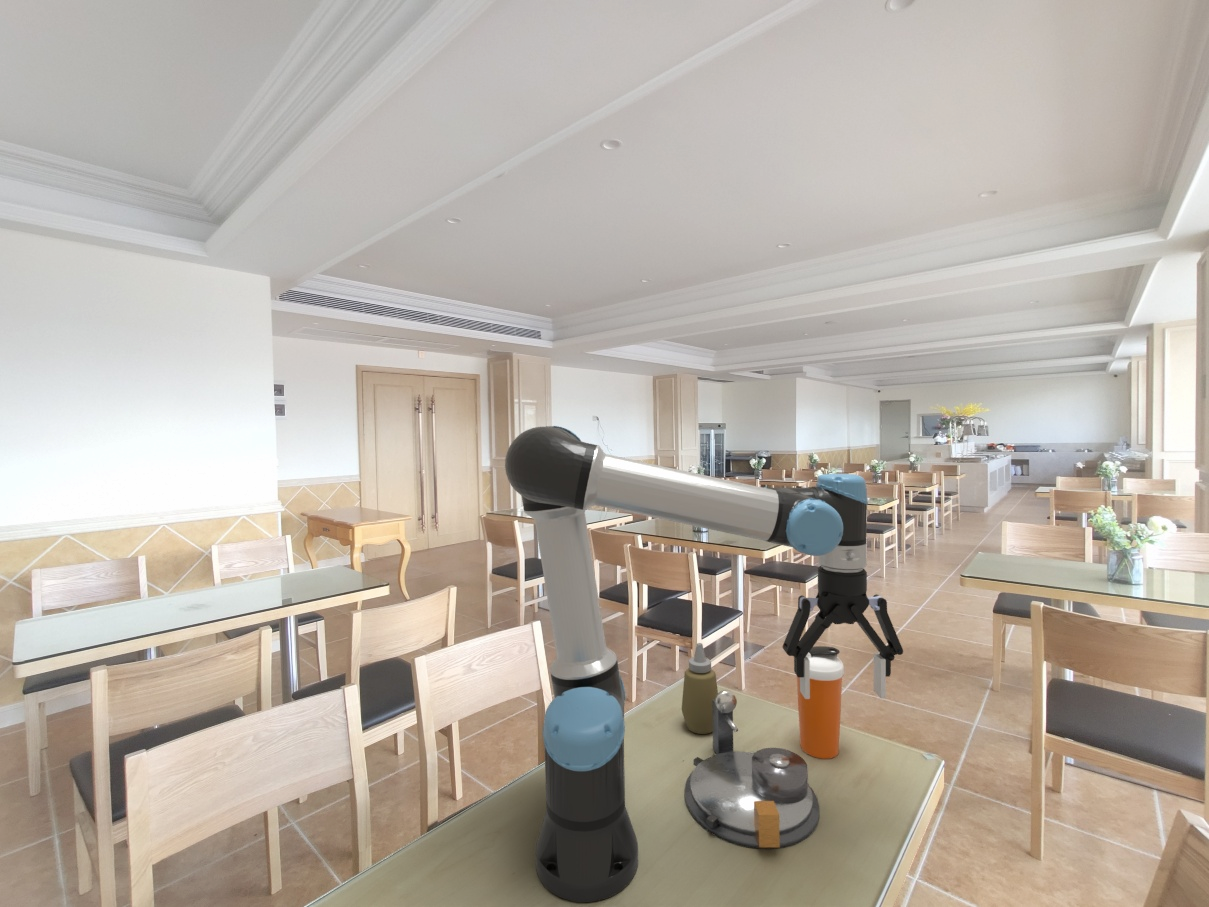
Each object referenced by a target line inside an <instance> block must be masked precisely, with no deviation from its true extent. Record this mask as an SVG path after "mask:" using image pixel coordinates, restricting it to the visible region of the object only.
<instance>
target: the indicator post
mask: <svg viewBox="0 0 1209 907" xmlns="http://www.w3.org/2000/svg"><path fill="white" fill-rule="evenodd" d="M737 701H738V700H737V697H736V696H735V694H734V693H733V692H732V691H731V690H727V689H724V690H721V691H718V694H717V696H716V698H715V699H712V716H713V732H712V750H713V751H714V752H715V755H716V754H720V753H726V752H734V733H738V731H739V728H738V727H737V726H736V724H735V723H734V713H733V712H734V710H735V709H736V707H737V703H738V702H737Z"/></svg>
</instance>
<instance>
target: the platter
mask: <svg viewBox="0 0 1209 907" xmlns="http://www.w3.org/2000/svg"><path fill="white" fill-rule="evenodd" d="M754 753H755V752H751V751H733V752H726V753H720V754H716V753H715V754H713V755H711V756H708V757H707V758H704V759H703V758H700V757H698V756H696V757H695V758H694V759H693V766H695V767H694V769H693V770H694V771H693V770H692V771H693V772H692V771H691V773H692V775H691V781H690V783H691V795H692V798H693V800H694V802H695V804H696V805H697V807H698V808H699V809H700V810H701V811H702V812H703V814H705V815H706V816H707V817H708V818H707V819H706V824H707V825H708V826H709V827H711V828H714V827H715V826H716V825H718V824H719V825H721V826H723V827H725V828H728V829H730V830H733V831H736V832H739V833H744V834H749V835H755V836H756V839H757V842H758V845H759V847H780V835H781V834H785V833H788V832H791V831H793V830H796V829H797V828H799V827H801V826H802V825H803V824H804V823H805V822H806V821H807V820H808V819H809V817H810V815H811V813H812V809H813V795H812V791H811V788H812V787H811V785H810V784H809V783H808V793H807V796H806V797H805V798H804V799H803V800H801V801H799V802H797V803H791V804H783V803H777V802H774V801H770V800H768V799H766V798H764V797H762V796H761V795H760V794H759V793H757V792H756V790H755V789H754V787H753V784H752V756H753V755H754ZM810 787H811V788H810Z"/></svg>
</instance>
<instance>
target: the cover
mask: <svg viewBox="0 0 1209 907" xmlns="http://www.w3.org/2000/svg"><path fill="white" fill-rule="evenodd" d="M753 753H754V755H753V756H752V784H753V787H754V789H755V790H756V792H757V793H759V794H760V795H761V796H762V797H764V798H766V799H768V800H770V801H774V802H777V803H783V804H791V803H797V802H799V801H801V800H803V799H804V798H805V797H806V796H807V793H808V784H809V782H808V780H809V779H808V776H809V775H808V774H809V773H808V772H809V771H808V769H809V768H808V764H807V762H806V761H805V759H804V758H803V757H802V756H800V754H798V753H796V752H795V751H794V752H793V751H792V750H788V749H785V748H780V747H766V748H761V749H758V750H756V751H755V752H753Z"/></svg>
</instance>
